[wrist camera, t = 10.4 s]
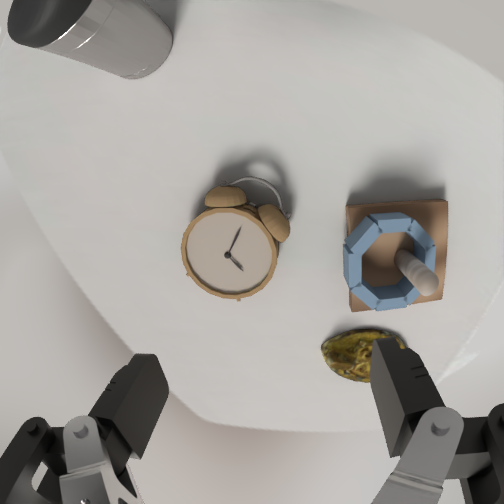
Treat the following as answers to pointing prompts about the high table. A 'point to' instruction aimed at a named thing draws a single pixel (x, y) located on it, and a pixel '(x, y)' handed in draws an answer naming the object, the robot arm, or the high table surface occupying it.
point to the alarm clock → (234, 242)
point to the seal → (353, 352)
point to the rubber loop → (364, 239)
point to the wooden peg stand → (403, 249)
